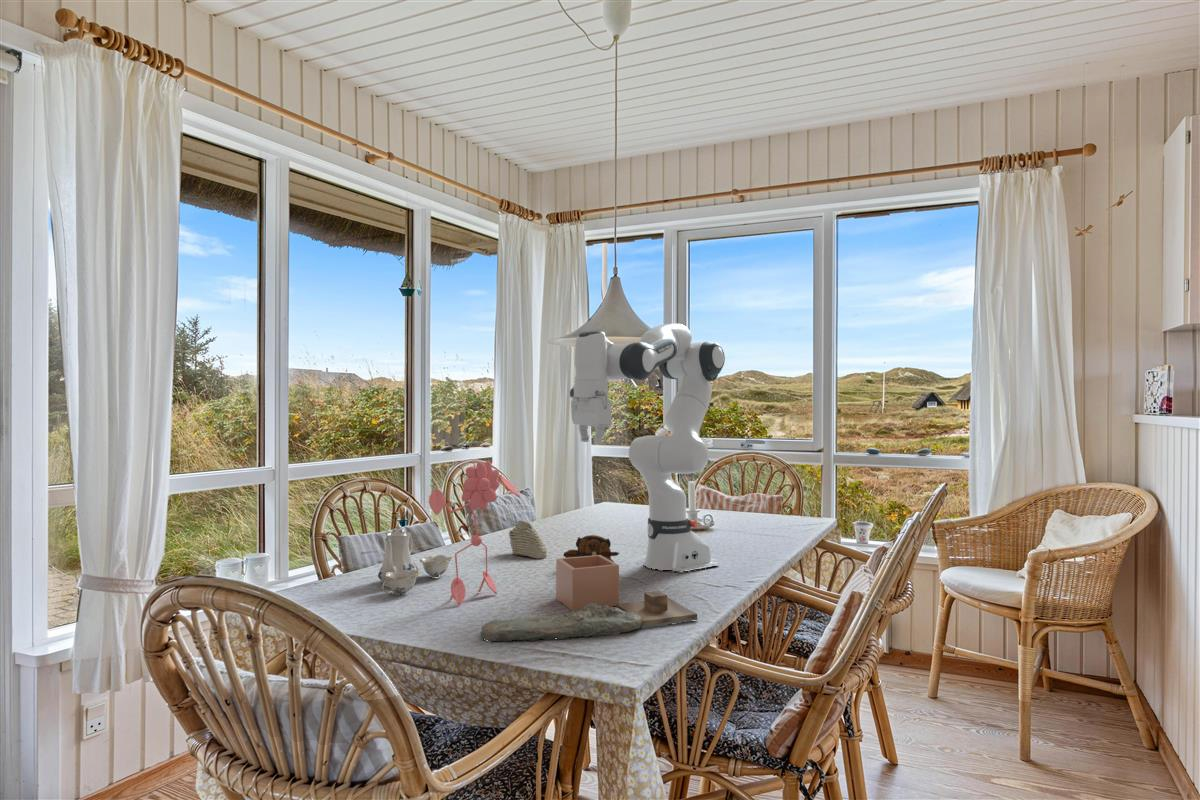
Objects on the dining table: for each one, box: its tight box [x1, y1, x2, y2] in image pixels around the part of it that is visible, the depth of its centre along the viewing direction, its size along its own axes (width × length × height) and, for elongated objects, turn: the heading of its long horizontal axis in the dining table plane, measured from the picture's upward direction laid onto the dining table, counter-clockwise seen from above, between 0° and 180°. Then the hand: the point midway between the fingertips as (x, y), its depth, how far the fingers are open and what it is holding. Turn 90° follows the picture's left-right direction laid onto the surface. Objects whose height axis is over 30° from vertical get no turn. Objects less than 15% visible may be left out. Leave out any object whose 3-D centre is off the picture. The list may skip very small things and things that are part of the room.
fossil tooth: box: [508, 519, 548, 560], centre depth 226 cm, size 12×6×15 cm
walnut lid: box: [615, 590, 698, 626], centre depth 165 cm, size 14×14×4 cm
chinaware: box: [377, 523, 453, 596], centre depth 192 cm, size 28×17×17 cm, turn 169°
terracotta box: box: [555, 555, 620, 612], centre depth 176 cm, size 12×12×10 cm
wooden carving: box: [562, 534, 620, 563], centre depth 208 cm, size 16×5×10 cm, turn 92°
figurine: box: [428, 459, 521, 606], centre depth 175 cm, size 15×26×35 cm, turn 139°
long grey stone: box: [480, 603, 642, 642], centre depth 153 cm, size 35×5×10 cm
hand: (591, 442), depth 190 cm, fingers open, 8 cm apart
